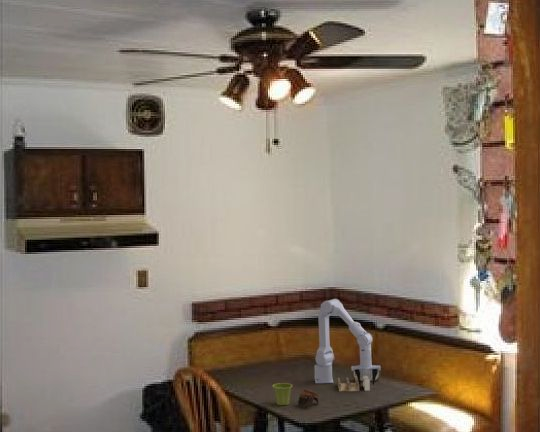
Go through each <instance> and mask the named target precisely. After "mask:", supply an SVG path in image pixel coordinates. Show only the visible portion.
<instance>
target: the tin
mask: <svg viewBox="0 0 540 432" xmlns="http://www.w3.org/2000/svg"><path fill="white" fill-rule="evenodd" d="M359 365H360V364H356V365H355V366H359ZM351 374H352V377H353V379H354V380H355V377H357V375H356V373H355V370H354V371H352V370H351ZM363 376H368V378H369V381H370V382H372V370H360V381H361V382H363ZM380 377H381V370H378V373H377V375H376V378H375V382H376V381H378V380H379V379H380ZM357 379H358V378H357Z"/></svg>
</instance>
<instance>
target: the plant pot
mask: <svg viewBox="0 0 540 432" xmlns="http://www.w3.org/2000/svg"><path fill="white" fill-rule="evenodd" d="M292 387H293V384H291V383H287V382H279V383H274V384H272V388H273V391H274V397H275V401H276V402H275V403H276V405H277V406H287V405H289V404H290V401H291V400H290V399H291V391H292Z"/></svg>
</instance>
